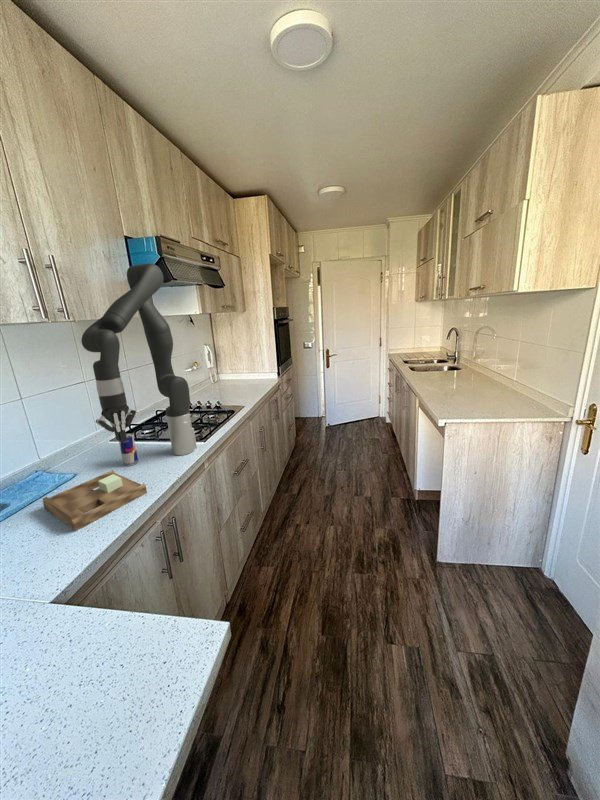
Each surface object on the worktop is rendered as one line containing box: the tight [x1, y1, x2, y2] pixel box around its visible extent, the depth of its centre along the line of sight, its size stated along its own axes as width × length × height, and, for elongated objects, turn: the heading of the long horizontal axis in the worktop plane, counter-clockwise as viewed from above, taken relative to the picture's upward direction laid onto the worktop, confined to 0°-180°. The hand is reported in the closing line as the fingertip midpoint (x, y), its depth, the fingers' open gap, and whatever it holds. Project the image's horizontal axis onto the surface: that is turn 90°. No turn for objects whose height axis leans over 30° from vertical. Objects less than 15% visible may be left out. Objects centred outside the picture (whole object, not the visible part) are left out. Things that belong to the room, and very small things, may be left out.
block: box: [98, 474, 123, 493], centre depth 108 cm, size 5×5×3 cm
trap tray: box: [42, 470, 148, 532], centre depth 105 cm, size 22×20×4 cm
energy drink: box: [118, 433, 139, 467], centre depth 129 cm, size 5×5×12 cm
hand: (121, 440), depth 110 cm, fingers closed
